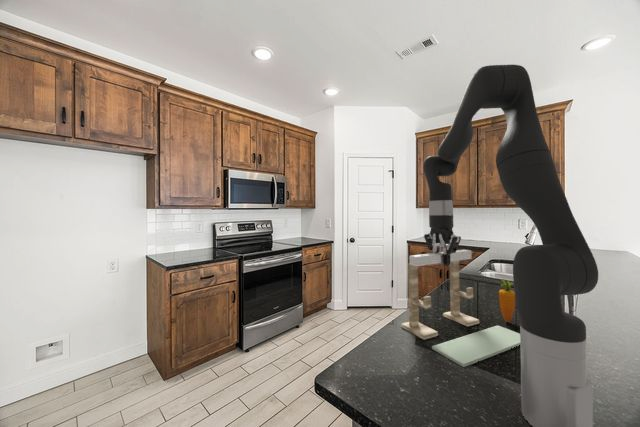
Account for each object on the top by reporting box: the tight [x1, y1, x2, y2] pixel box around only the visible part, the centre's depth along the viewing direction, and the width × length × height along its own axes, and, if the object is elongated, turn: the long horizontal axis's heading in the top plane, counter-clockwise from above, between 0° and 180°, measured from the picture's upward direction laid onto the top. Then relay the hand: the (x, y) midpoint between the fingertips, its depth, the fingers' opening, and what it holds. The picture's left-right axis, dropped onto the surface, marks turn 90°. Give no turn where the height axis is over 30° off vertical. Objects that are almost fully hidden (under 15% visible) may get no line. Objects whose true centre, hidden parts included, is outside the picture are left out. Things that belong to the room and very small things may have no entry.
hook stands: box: [400, 261, 480, 341], centre depth 91 cm, size 10×26×22 cm, turn 114°
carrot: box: [498, 278, 516, 323], centre depth 92 cm, size 5×5×15 cm
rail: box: [409, 249, 472, 267], centre depth 90 cm, size 3×26×3 cm, turn 114°
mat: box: [431, 324, 520, 368], centre depth 78 cm, size 10×30×1 cm, turn 114°
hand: (442, 264), depth 90 cm, fingers closed on rail, 3 cm apart
